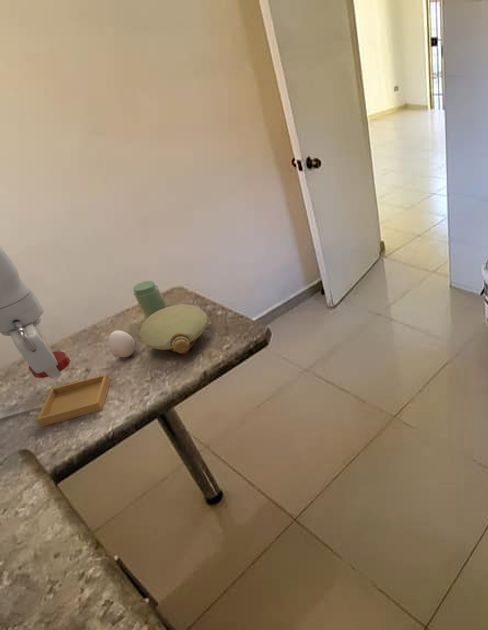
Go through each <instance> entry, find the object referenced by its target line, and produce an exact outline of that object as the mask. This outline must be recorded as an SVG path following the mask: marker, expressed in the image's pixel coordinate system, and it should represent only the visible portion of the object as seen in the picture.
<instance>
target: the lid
mask: <svg viewBox="0 0 488 630" xmlns="http://www.w3.org/2000/svg"><path fill="white" fill-rule="evenodd" d="M52 352H53V354H54V356H55V358H56V360H57V363H58V364H57V366H56V367H57V368H58V370H59V372H60V373H61V372H62V371H64V370H65V369H67V367H68V366H69V365H70V363H71V360H70V358H69V356H68V355H67V354H66V353H65V352H64V351H61V350H57V351H52ZM28 371H30V373H31V374H32V376H33V377H34V378H37V379H45V378H50V377H49V376H48V375H47V373H46V372H42V373H36V372H34V371H33V369H32V368H31V367H30V365H29V364H28Z"/></svg>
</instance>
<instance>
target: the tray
mask: <svg viewBox="0 0 488 630" xmlns="http://www.w3.org/2000/svg"><path fill="white" fill-rule="evenodd" d="M111 381H112V379H111V378H110V377H109V374H107V373H104V374H100V375H97V376H93V377H89V378H85V379H82V380H77V381H73V382H69V383H66V384H63V385H59V386H55V387H51V388H50V390H49V392H48V394H47V396H46V398H45V401H44V403H43V405H42V407H41V409H40V411H39V413H38V416H37V418H36V421H37V422H38V424H39V425H40V426H41V427H43V428H44V427H46V426H49V425H53V424H56V423H57V424H58V423H60V422H64V421H68V420H71V419H74V418H78V417H81V416H86V415H88V414H92V413H95V412H98V411H102V410H103V408H104V405H105V401H106V398H107V395H108V392H109V388H110V384H111Z"/></svg>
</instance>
